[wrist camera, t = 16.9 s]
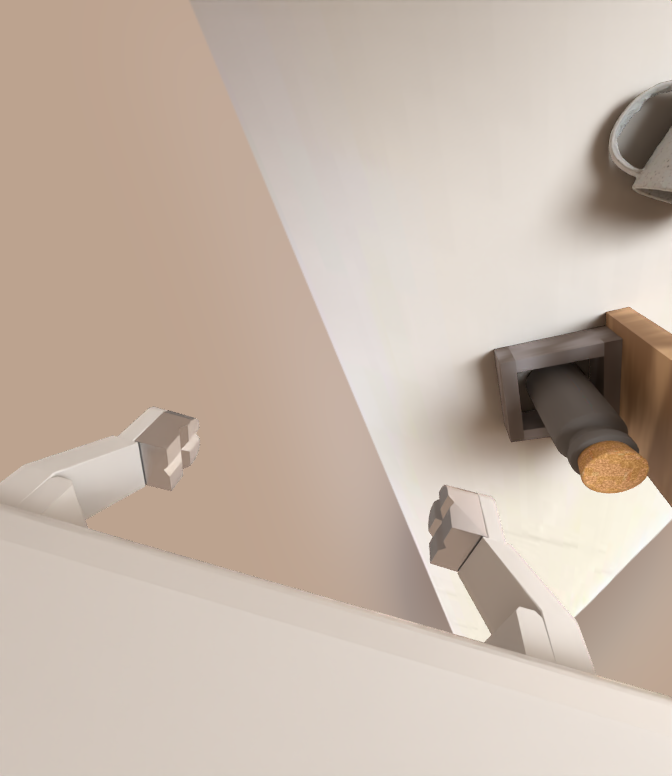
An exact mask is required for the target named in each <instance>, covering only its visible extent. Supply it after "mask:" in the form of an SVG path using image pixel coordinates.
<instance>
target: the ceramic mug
mask: <svg viewBox="0 0 672 776" xmlns="http://www.w3.org/2000/svg"><path fill="white" fill-rule="evenodd" d="M670 91H672V80H670V81H666V82H662V83H659V84H657V85H655V86H653V87H651V88H649V89H648V90H646V91H644V92H643V93H641V94H640V95H639V96H637V97H636V98H635V99H634V100H632V102H631V103H630V104H629V105H628V106H627V107H626V109H625V110H624V111H623V112H622V114H621V115H620V117H619V118H618V120H617V121H616V123H615V125H614V127H613V129H612V131H611V134H610V140H609V152H610V156H611V158H612V160H613V162H614V163H615V164H616V166H617V167H619V168H620V169H621V170H623V171H624V172H626V173H628V174H629V175H632V176H635V177H636V180H635V182H634V184H633V186H632V189H633V190H634V191H635V192H637V193H639V194H641V195H644V196H648V197H651V198H653V199H656V200H660V201H664V202H667V203H671V204H672V126H671V128H670V129H669V131H668V132H667V134H666V135H665V137H664V138H663V139H662V141H661V142H660V144H659V145H658V146H657V148H656V149H655V151H654V153H653V154H652V156H651V157H650V158H649V160H648V162H647V163H646V165H645V166H644V167H643V168H642V169H638V168H635V167H633V166H632V165H631V164H629V163H628V162H627V161H626V160H625V159H624V158H622V156H621V155H620V152H619V149H618V143H617V138H618V137H619V135H620V134H621V132H622V130H623V129H624V127H625V126H626V124H627V123H628V121H629V120H630V119H631V118H632V116H633V115H634V114H635V113H637V112H638V111H640V109H641V107H642V104H643V103H644V102H645V101H646V100H647V99H648V98H650V97H653V96H655V95H657V94H659V93H664V92H666V93H667V92H670Z"/></svg>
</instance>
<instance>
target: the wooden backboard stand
mask: <svg viewBox="0 0 672 776" xmlns="http://www.w3.org/2000/svg"><path fill="white" fill-rule="evenodd" d="M494 355H495V362H496V369H497V376H498V383H499V389H500V396H501V403H502V410H503V417H504V424H505V427H506V430H507V432H508V435H509V438H510V441H511V442H516V441H523V440H531V439H538V438H545V437H551V436H550V435H549V433H548V431H547V429H546V427H545V425H544V423H543V421H542V419H541V417H540V415H539V414H538V412H537V410H533V411H527V412H521V404H520V395H519V387H518V378H517V373H518V372H523V371H528V370H533V369H539V368H544V367H549V366H554V365H560V364H565V363H570V362H575V361H581V360H586V359H590V381H591V382H592V384H593V385H594V386H595V387H596V388H597V390H598V391H599V392H600V393H601V394H602V395H603V397H604V398H605V399H606V400H607V401H608V403H609V404H610V405H611V406H612V407H613V409H614V410H615V411H616V412H617V413H618V415H619V416H620V417H621V418H622V420H623V421H624V422H625V424H626V426H627V428H628V435H629V436H630V437H631V438H632V439H633V440H634V441H635V443H636V444H637V446H638V448H639V454H640V455H641V456H642V457H644V458H645V459H646V460H647V462H648V465H649V472H648V475H647V476H648V477H649V478H650V480H651V481H652V482H653V484H654V485H655V486H656V487H657V489H658V490H659V491H660V493H661V494H662V495H663V497H664V498H665V499H666V500H667V502H668V503H669V504H670V506H671V507H672V334H671V333H669V332H668V331H666V330H665V329H663V328H662V327H660V326H658V325H657V324H655V323H654V322H652V321H651V320H649V319H647V318H646V317H644V316H643V315H641V314H639V313H638V312H636V311H635V310H633V309H632V308H630V307H627V308H623V309H618V310H614V311H609V312H606V326H601V327H596V328H592V329H587V330H582V331H578V332H573V333H568V334H564V335H559V336H554V337H550V338H545V339H540V340H536V341H531V342H526V343H522V344H517V345H512V346H508V347H503V348H498V349H494Z"/></svg>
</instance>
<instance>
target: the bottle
mask: <svg viewBox="0 0 672 776" xmlns="http://www.w3.org/2000/svg"><path fill="white" fill-rule="evenodd" d="M526 389H527V392H528V394H529V396H530V398H531V400H532V402H533V404H534V406H535V408H536V410H537V412H538V414H539V415H540V417H541V419H542V421H543V423H544V425H545V427H546V429H547V431H548V433H549V435H550V436H551V438H552V440H553V442H554V444H555V446H556V447H557V449H558V451H559V452H560V453H561V454H562V455H564V456H565V457H567V458H568V461H569V463H570V465H571V467H572V468H573V470H574V471H575V472H577V473H578V474H579V475H581V479H582V482H583V483H584V484H585V486H587V487H588V488H589V489H591V490H593V491H596V492H601V493H618V492H623V491H626V490H629V489H631V488H634V487H635V486H637V485H639V484H640V483H641V482H642V481H643V480H644V479H645V478H646V476H647V475H648V472H649V465H648V462H647V460H646V459H645V458H644V457H642V456H641V455H640V454H639V448H638V446H637V444H636V443H635V441H634V440H633V439H632V438H631V437H630V436H629V435H628V428H627V426H626V424H625V422H624V421H623V420H622V418H621V417H620V416H619V415H618V413H617V412H616V411H615V410H614V409H613V407H612V406H611V405H610V404H609V403H608V401H607V400H606V399H605V398H604V397H603V395H602V394H601V393H600V392H599V391H598V390H597V388H596V387H595V386H594V385H593V384H592V382H591V381H590V380H589V379H588V378H587V377H586V375H585V374H584V373H583V372H582V371H581V370H580V369H579V368H578V366H576V365H575V364H574V363H572V362H570V363H565V364H560V365H554V366H549V367H544V368H539V369H533V370H532V371H531V373H530V374H529V376H528V378H527V381H526Z"/></svg>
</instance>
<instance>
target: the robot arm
mask: <svg viewBox="0 0 672 776" xmlns="http://www.w3.org/2000/svg"><path fill="white" fill-rule="evenodd" d="M198 429H199V421H198V420H197V419H196V418H193V417H189V416H186V415H182V414H179V413H176V412H172V411H169V410H164V409H161V408H158V407H150V408H148V409H147V410H146V411H145V412H144V413H143V414H142V415H141V416H139V417H138V418H137V419H136V420H135V421H134V422H133V423H132V424H130V426H129V427H127V428H126V429H125V430H124V431H123V432H122V433H121V434H120V435H118V436H117V437H116V436H110V437H107V438H104V439H101V440H98V441H95V442H92V443H89V444H86V445H83V446H80V447H77V448H74V449H70V450H68V451H64V452H62V453H58V454H55V455H52V456H50V457H47V458H44V459H40V460H37V461H35V462H31V463H28V464H25V465H23V466H22V467H21V468H19V469H18V470H17V471H15V472H14V473H12V474H11V475H10V476H8V477H7V478H6V479H4V480H3V481H2V482H1V483H0V776H672V697H670V696H667V695H664V694H660V693H656V692H653V691H650V690H646V689H642V688H639V687H636V686H632V685H628V684H625V683H622V682H618V681H615V680H611V679H608V678H605V677H601V676H597V675H596V672H595V669H594V666H593V664H592V661H591V658H590V655H589V653H588V650H587V647H586V645H585V642H584V639H583V636H582V634H581V631H580V628H579V626H578V623H577V621H576V620H575V619H574V617H573V616H572V615H571V614H570V613H569V612H568V610H567V609H566V608H565V607H564V606H563V605H562V603H561V602H560V601H559V600H558V599H557V598H556V596H555V595H554V594H553V593H552V592H551V590H550V589H549V588H548V587H547V586H546V585H545V583H544V582H543V581H542V580H541V579H540V578H539V576H538V575H537V574H536V573H535V572H534V571H533V569H532V568H531V567H530V566H529V565H528V563H527V562H526V561H525V560H524V559H523V558H522V556H521V555H520V554H519V553H518V552H517V551H516V549H515V548H514V547H513V546H512V545H511V544H508V543H506V540H505V536H504V532H503V528H502V525H501V521H500V517H499V513H498V510H497V506H496V502H495V499H494V498H493V497H491V496H487V495H483V494H480V493H475V492H471V491H467V490H464V489H460V488H456V487H452V486H448V485H444V486H443V487H442V488H441V490H440V492H439V498H440V499H439V500H437V501H435V502H434V503H433V505H432V508H431V510H430V514H429V522H428V528H429V532H430V534H431V535H432V537H433V538H432V539H431V541H430V543H429V548H430V563H431V564H434V565H437V566H440V567H444V568H447V569H450V570H453V571H457V572H458V575H459V577H460V579H461V581H462V582H463V584H464V586H465V588H466V590H467V591H468V593H469V595H470V597H471V599H472V600H473V602H474V604H475V606H476V608H477V609H478V611H479V613H480V615H481V617H482V618H483V620H484V622H485V624H486V625H487V627H488V629H489V631H490V633H491V634H492V635H491V636H490V637H489V638H488V639H487V640H486V641H485V642H484V643H483V642H480V641H476V640H473V639H469V638H466V637H463V636H459V635H456V634H452V633H448V632H445V631H442V630H438V629H435V628H431V627H428V626H424V625H421V624H418V623H414V622H411V621H407V620H403V619H400V618H397V617H393V616H390V615H386V614H383V613H379V612H376V611H372V610H369V609H365V608H361V607H358V606H355V605H352V604H348V603H345V602H341V601H338V600H334V599H331V598H327V597H324V596H320V595H317V594H313V593H310V592H306V591H303V590H299V589H296V588H292V587H289V586H286V585H282V584H278V583H275V582H272V581H268V580H265V579H261V578H258V577H254V576H251V575H248V574H243V573H241V572H237V571H234V570H230V569H227V568H223V567H220V566H216V565H212V564H209V563H206V562H203V561H199V560H196V559H192V558H189V557H185V556H182V555H178V554H175V553H171V552H168V551H164V550H161V549H158V548H154V547H151V546H147V545H144V544H140V543H136V542H133V541H130V540H126V539H123V538H119V537H116V536H112V535H109V534H105V533H102V532H98V531H95V530H92V529H88V527H87V524H86V521H85V520H86V519H88V518H90V517H91V516H93V515H95V514H96V513H98V512H100V511H102V510H104V509H106V508H107V507H109V506H111V505H113V504H114V503H116V502H118V501H120V500H122V499H123V498H125V497H127V496H129V495H130V494H132V493H134V492H136V491H138V490H139V489H141V488H143V487H145V485H149V486H153V487H158V488H161V489H165V490H170V491H172V489H173V488H174V487H175V485H176V484H177V483H178V482H179V480H180V479H181V478H182V476H183V469H184V468H186V467H188V466H190V465H191V464H192V463H193V461H194V460H195V458H196V456H197V453H198V451H199V446H200V438H199V437H198V435H197V434H196V432H197V430H198Z"/></svg>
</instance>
